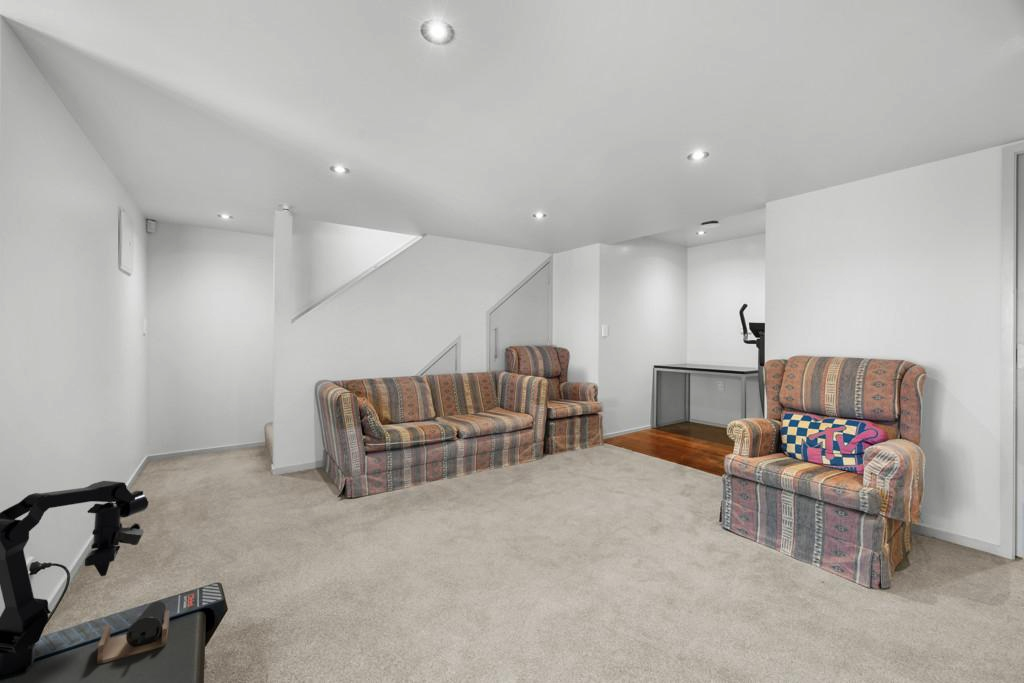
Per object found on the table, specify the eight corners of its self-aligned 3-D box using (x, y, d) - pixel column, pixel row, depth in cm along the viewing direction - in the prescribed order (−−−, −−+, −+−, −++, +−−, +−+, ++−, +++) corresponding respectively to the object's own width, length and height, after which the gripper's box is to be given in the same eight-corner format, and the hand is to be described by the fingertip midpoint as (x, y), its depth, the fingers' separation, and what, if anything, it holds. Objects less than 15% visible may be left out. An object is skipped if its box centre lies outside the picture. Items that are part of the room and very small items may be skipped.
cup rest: (96, 664, 112) (98, 645, 112) (104, 642, 120) (105, 625, 120) (165, 645, 120) (167, 628, 120) (168, 626, 128) (169, 609, 128)
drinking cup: (175, 613, 133) (160, 647, 115) (145, 629, 129) (125, 667, 112) (166, 591, 132) (149, 622, 115) (135, 606, 128) (113, 640, 111)
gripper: (138, 529, 127) (134, 582, 127) (145, 509, 143) (142, 556, 142) (86, 537, 121) (82, 593, 121) (100, 514, 136) (96, 564, 136)
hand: (103, 575), depth 130 cm, fingers closed
